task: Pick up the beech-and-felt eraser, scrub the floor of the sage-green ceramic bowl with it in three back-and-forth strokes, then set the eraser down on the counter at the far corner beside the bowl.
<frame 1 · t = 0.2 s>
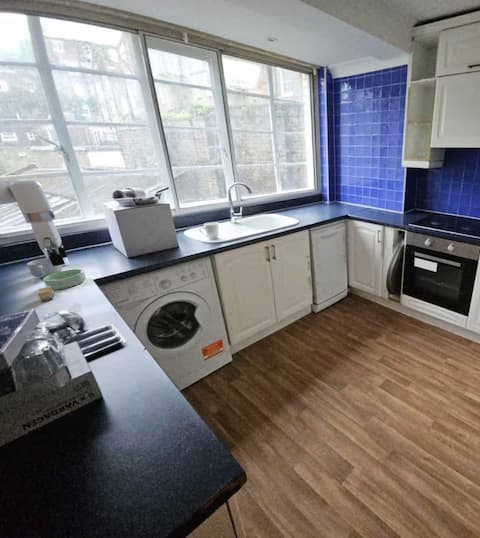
hand: (60, 261, 111), 18 cm above the table, tool pointing down, fingers open, 9 cm apart
white cup: (60, 265, 156), on the table
bowl: (67, 283, 134), on the table
teacup: (48, 277, 142), on the table
eraser: (48, 298, 121), on the table
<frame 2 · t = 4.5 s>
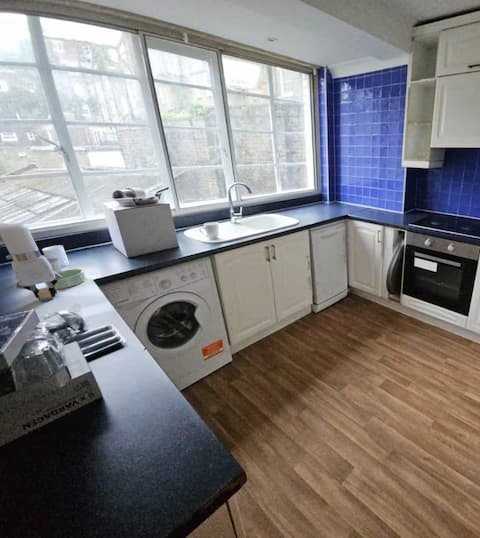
hand: (47, 296, 121), 1 cm above the table, tool pointing down, fingers closed on eraser, 3 cm apart
eraser: (48, 298, 121), on the table, touching gripper
everything else where it was.
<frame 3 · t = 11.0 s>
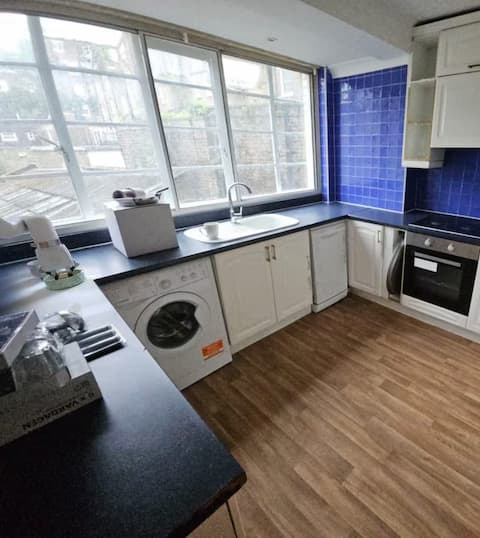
hand: (66, 281, 133), 1 cm above the table, tool pointing down, fingers closed on eraser, 3 cm apart
eraser: (67, 283, 133), point 1 cm above the table, touching gripper
everything else where it was.
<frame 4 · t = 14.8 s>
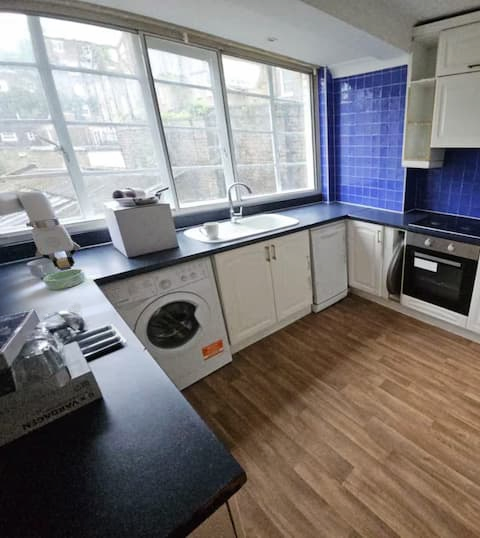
hand: (65, 266, 122), 12 cm above the table, tool pointing down, fingers closed on eraser, 3 cm apart
eraser: (66, 267, 122), point 11 cm above the table, touching gripper
everything else where it was.
when the fingers open (1 cm above the table, at t = 17.5 s): eraser stays where it is, on the table.
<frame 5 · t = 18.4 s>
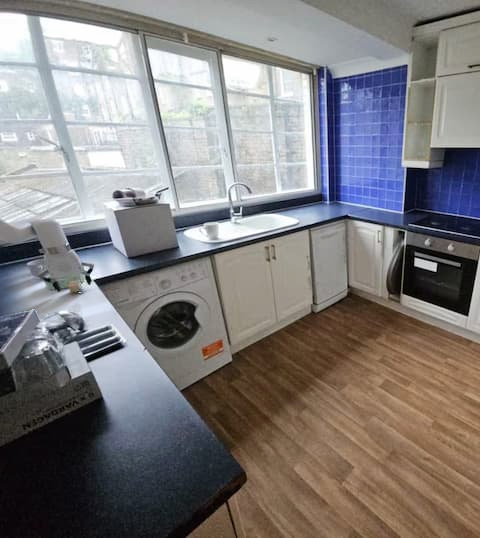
hand: (74, 287, 126), 2 cm above the table, tool pointing down, fingers open, 9 cm apart
eraser: (77, 291, 127), on the table
everything else where it was.
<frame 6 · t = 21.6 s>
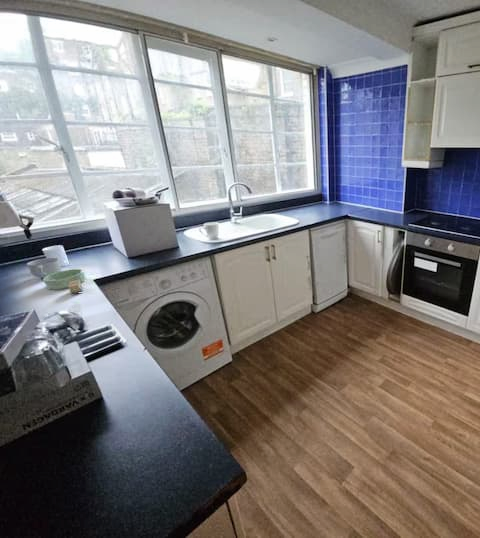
hand: (13, 240, 121), 22 cm above the table, tool pointing down, fingers open, 9 cm apart
nothing on the table moved.
at the end: eraser 0.1 cm from the target spot, on the table; eraser tilted 0°; the gripper is holding nothing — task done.
